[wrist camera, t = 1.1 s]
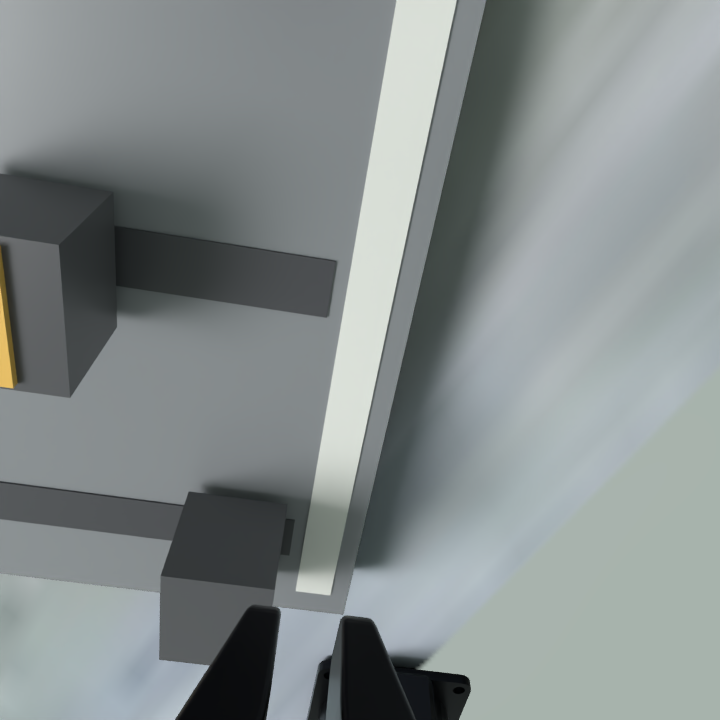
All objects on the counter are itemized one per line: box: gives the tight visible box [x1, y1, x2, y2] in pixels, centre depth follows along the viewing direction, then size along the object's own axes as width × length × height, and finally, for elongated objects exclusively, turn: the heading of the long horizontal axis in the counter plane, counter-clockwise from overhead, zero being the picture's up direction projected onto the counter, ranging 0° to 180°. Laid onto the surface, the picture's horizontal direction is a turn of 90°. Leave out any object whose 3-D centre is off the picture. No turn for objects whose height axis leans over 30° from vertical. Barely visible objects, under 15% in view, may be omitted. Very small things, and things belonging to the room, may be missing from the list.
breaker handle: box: [0, 174, 117, 398], centre depth 15 cm, size 4×3×3 cm
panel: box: [0, 0, 486, 665], centre depth 16 cm, size 25×18×6 cm
